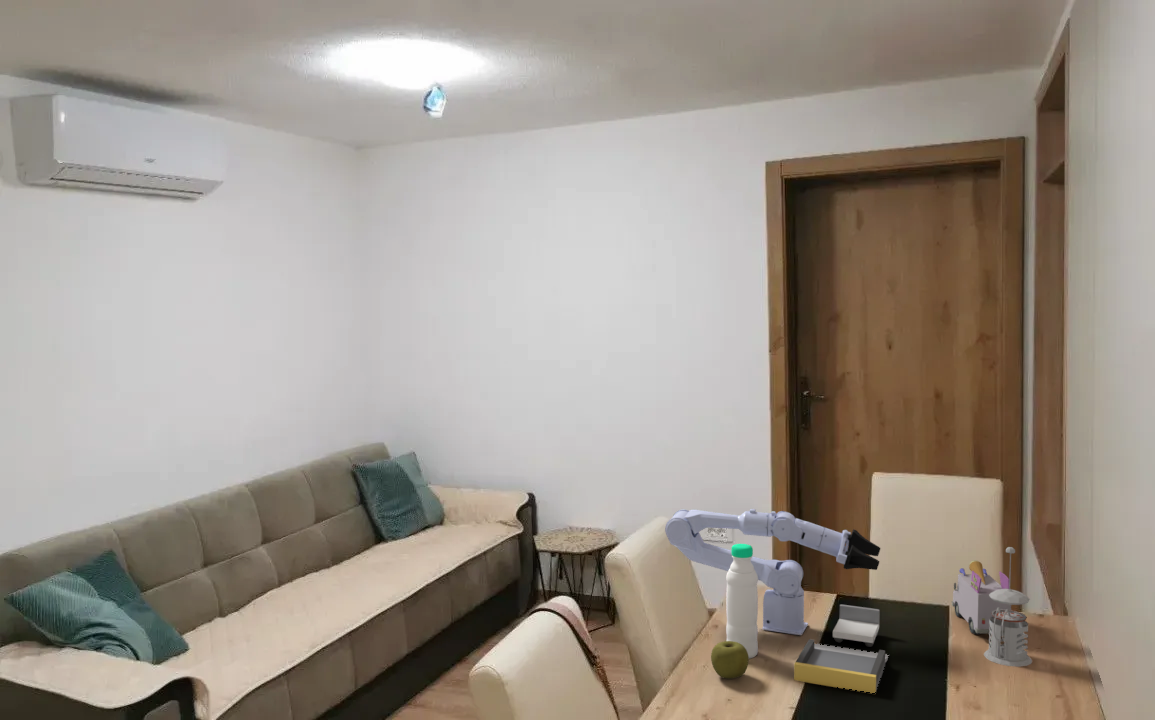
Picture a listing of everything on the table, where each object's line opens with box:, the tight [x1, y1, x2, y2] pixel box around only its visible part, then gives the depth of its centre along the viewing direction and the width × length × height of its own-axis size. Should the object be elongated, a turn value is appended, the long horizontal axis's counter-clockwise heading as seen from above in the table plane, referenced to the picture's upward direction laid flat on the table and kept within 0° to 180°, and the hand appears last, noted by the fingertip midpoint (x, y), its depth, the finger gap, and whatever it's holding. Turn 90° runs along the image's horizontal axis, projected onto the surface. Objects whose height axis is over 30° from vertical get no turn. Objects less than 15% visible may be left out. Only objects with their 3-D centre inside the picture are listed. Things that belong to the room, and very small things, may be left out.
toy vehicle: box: [951, 560, 1012, 635], centre depth 224 cm, size 9×20×15 cm, turn 174°
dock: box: [793, 638, 890, 694], centre depth 201 cm, size 16×22×4 cm
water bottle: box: [725, 543, 759, 659], centre depth 208 cm, size 7×7×25 cm
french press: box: [983, 546, 1033, 668], centre depth 204 cm, size 10×12×25 cm
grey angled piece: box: [832, 604, 880, 648], centre depth 217 cm, size 9×10×6 cm
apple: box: [710, 640, 749, 680], centre depth 197 cm, size 8×8×7 cm
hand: (878, 558), depth 217 cm, fingers open, 7 cm apart
